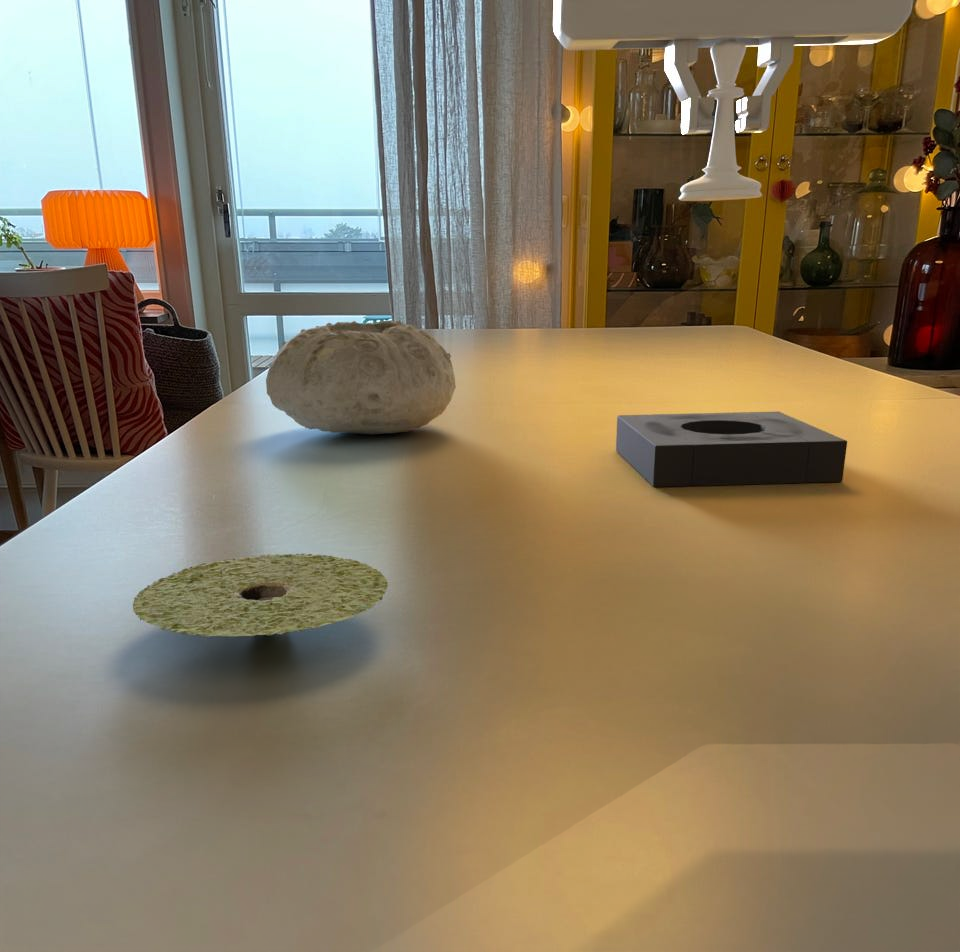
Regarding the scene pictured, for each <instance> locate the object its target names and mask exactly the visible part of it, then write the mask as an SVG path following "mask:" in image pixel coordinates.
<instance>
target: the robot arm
mask: <svg viewBox="0 0 960 952" xmlns="http://www.w3.org/2000/svg"><path fill="white" fill-rule="evenodd" d="M913 4H914V0H553V10H552V28H553V29H552V30H553V33H554V36H555V37H556V38H557V40H558V42H559V43H560V45H561V46H562V47H563V48H564V49H565V50H566V51H600V50H601V51H602V50H604V51H605V50H606V51H607V50H608V51H609V50H644V49H645V50H648V49H653V50H655V49H664V72H665V74H666V76H667V78H668V80H669V82H670V84H671V87H672V88H673V90H674V92H675V94H676V96H677V98H678V100H679V102H681V117H680V119H681V121H680V122H681V123H680V133H681V134H682V135H705V134H708V133H711V132H713V129H714V120H715V117H713V112H714V110H715V100H716V99H715V97H707V96H702V94H701V92H700V90H699V87H698V85H697V83H696V81H695V78H694V76H693V74H692V72H691V71H692V70H690V67H691V66H692V65H694V64H695V63H697V61H698V58H699V49H700V48H701V49H702V48H711V47H712V46H713V45H715V44H717V43H720V42H721V41H722V40H725V38H733V39H735V40H737V41H739V42H743V43H744V44H745V45H746V48H747V47H758V52H757V67H758V68H766V69H765V72H764V73H763V74H762V77H761V79H760V81H759V82H758V84H757V86H756V88H755V89H754V91H753V93H752V95H747V96H744V97H743V98H740V99H738V100H737V101H736V115H737V117H738V118H737V119H736V121H735V131H736V133H737V134H746V133H749V134H750V133H751V134H752V133H755V134H756V133H763V132H766V131H767V130H768V128H769V126H770V118H771V117H770V115H771V104H772V96H774V94H775V93H776V91H777V89H778V88H779V86H780V84H781V83H782V81H783V79H784V77H785V75H787V72H788V71H789V69H790V67H791V65H792V64H793V62H794V54H795V53H794V52H795V46H831V45H832V46H833V45H838V46H839V45H871V44H876V43H879V42H881V41H884V40H886V39H888V38H890V37H892V36H894V35H895V34H897V33H898V32H899V30H900V29H901V28H902V27H903V25H904V24H905V23H906V22H907V20H908V19H909V17H910V15H911V14H912V10H913Z"/></svg>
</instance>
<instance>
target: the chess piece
mask: <svg viewBox="0 0 960 952" xmlns="http://www.w3.org/2000/svg"><path fill="white" fill-rule="evenodd" d="M746 51H747V47H746V45H745V44H744V43H743V42H739V41H737V40H735V39H733V38H725V40H722V41H721V42H720V43H717V44H715V45H713V46H712V47H710V56H711V60H712V62H713V67H714V74H715V78H716V81H717V84H716V85H715V87H716V88H713V89H709V90H708V92H707V93H708V94H707V95H706V97H715V99H714V100H716V109H715V116H714V122H713V129H712V137H711V143H710V148H709V154H708V159H707V165H706V166H705V167H704V168H702V169H701V171H702V172H704V173H705V174H704V175H702V176H700V177H699V178H696V179H694V180H690V181H689V182H687V183H684V184H683V185H682V186H681V187H680V190H679V191H680V193H681V194H680V196H679V197H678V200H679V201H682V202H685V201H686V202H707V201H708V202H709V201H711V202H712V201H734V200H747V199H756V198H761V197H763V194H762V192H761V191H760V190H762V189H761V188H762V183H761V182H759V181H758V180H756V179H753V178H751V177H748V176H744V175H742V174H740V173H739V172H738V171H740V170H741V169H742V167H741V166H739V165H738V163H737V155H736V153H737V152H736V139H735V138H736V136H735V111H734V110H735V109H734V108H735V107H734V100H735V99H738V98H741V97H743V96H744V95H745V92H744V88H742V87H738V86H737V84H736V80H737V77H738V74H739V72H740V68H741V65H742V62H743V60H744V56H745V54H746Z"/></svg>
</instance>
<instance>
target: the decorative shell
mask: <svg viewBox="0 0 960 952" xmlns="http://www.w3.org/2000/svg"><path fill="white" fill-rule="evenodd" d="M451 357H452V356H451V353H450V352H447V350H446V349H445V348H444V346H442V345H441V343H439V342H438V340H436V339H435V338H434V337H433V336H432V335H430V334H429V333H428V332H426V331H424V330H421V329H419V328H418V327H415V325H414V324H413V323H411V324H408V323H407V324H406V323H403V322H402V321H401V320H396V321H395V320H380V321H378V322H373V323H372V322H366V323H361V322H360V323H359V322H357V321H355V320H353V321H350V322H349V321H341V322H340V321H337V322H335V323H334V324H333V323H331V322H327V323H326V324H325V325H320V326H319V325H316V326H315V327H311V328H307V329H305V328H302V329H301V330H300V332H299V333H297V334H295V335H294V336H292V337H291V338H290V339H289V340H287V341H286V340H284V341H282V343H281V347H280V348H279V349H278V351H277V352H276V354H275V356H274V359H273V360H272V361H271V362H270V363H269V367H268V371H267V375H266V378H265V385H266V386H265V387H266V395H267V396H268V397H269V399H270V401H271V402H270V403H271V404H272V405H273V406H274V408H275V409H278V410H279V411H282V412H284V413H285V415H287V416H288V417H289V418H291V419H292V420H293V421H294V422H295V423H296V424H298V425H299V426H301V427H303V428H305V429H307V430H308V429H309V430H319V431H321V432H328V433H332V434H334V433H345V434H363V435H383V434H396V433H408V432H411V431H412V430H414V429H415V430H416V429H420V428H422V427H424V426H427V425H428V424H429V423H431V422H432V421H433V420H434V419H437V418H438V417H439V416H440V415H443V413H444V412H445V411H446V409H447V407H448V405H450V403H451V401H452V399H453V395H454V393H455V390H456V375H455V371H454V367H453V363H452V360H451Z"/></svg>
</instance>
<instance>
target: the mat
mask: <svg viewBox="0 0 960 952" xmlns="http://www.w3.org/2000/svg"><path fill="white" fill-rule="evenodd" d="M388 583H389V582H388V579H387V578H386V576H384V575H383V573H382V572H381V571H379V570H378V569H377V568H374V567H372V566H371V565H369V564H366V563H363V562H360V561H358V560H354V559H352V558H343V557H338V556H333V555H327V554H326V555H325V554H319V553H318V554H312V553H309V554H307V553H300V554H299V553H296V554H295V553H284V554H279V553H278V554H270V553H269V554H262V555H257V556H256V555H254V556H246V557H237V558H232V559H231V558H230V559H223V560H215V561H212V562H209V563H205V562H204V563H200V564H197V565H194V566H190V567H189V568H187V567H186V568H183V569H182V570H181V571H178V572H172V574H170V575H168V576H166V577H161V578H159V579H158V580H154V581H153V583H152V584H151V583H150V585H149V584H148V585H147V586H146V587H144V588H143V589H142V590H139V592H138V593H137V594H136V596H134V597H133V603H132V610H133V612H134V613H135V615H136V616H137V618H139V620H140V621H141V620H142V621H144V622H145V623H146V624H149V625H150V626H156V627H158V628H159V629H161V630H163V631H165V630H167V631H172V632H173V633H180V634H182V635H183V636H184V635H185V636H186V635H191V636H202V637H206V638H208V637H216V636H220V637H255V636H257V635H259V636H263V635H266V636H272V635H275V634H277V635H283V634H285V633H290V632H296V631H297V632H302V631H305V630H312V629H318V628H320V627H323V626H327V625H332V624H334V623H337V622H342V621H345V620H347V619H350V618H353V617H356V616H358V615H360V614H362V613H365V612H367V611H368V610H370V609H371V608H373V607H374V606H376V605H377V603H379V602H380V601H382V600H383V597H384V595H385V594H386V592H387V590H388V587H389V584H388Z"/></svg>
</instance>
